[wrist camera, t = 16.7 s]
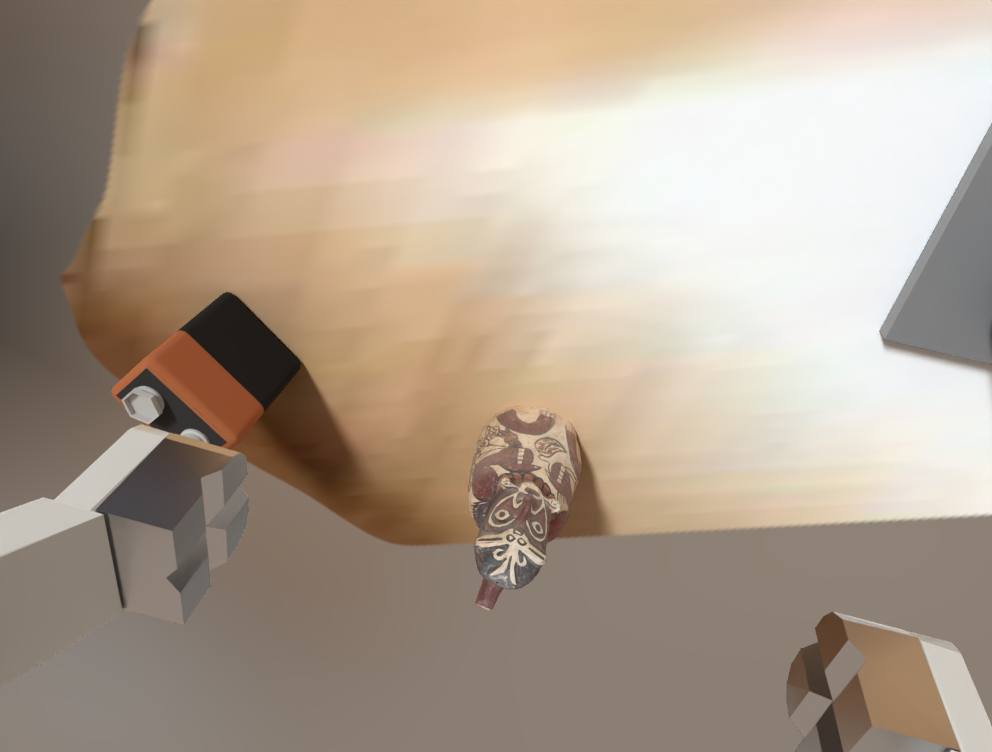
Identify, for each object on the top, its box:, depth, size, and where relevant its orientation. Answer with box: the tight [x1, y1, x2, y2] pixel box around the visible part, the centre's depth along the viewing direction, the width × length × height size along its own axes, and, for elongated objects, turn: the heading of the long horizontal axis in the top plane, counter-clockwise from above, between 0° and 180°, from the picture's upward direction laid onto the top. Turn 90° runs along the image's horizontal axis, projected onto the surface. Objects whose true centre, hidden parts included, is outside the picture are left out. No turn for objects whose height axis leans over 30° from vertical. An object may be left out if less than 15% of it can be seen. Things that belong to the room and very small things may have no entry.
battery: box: [112, 292, 300, 450], centre depth 43 cm, size 4×7×10 cm, turn 39°
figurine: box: [468, 407, 582, 610], centre depth 42 cm, size 7×7×12 cm
